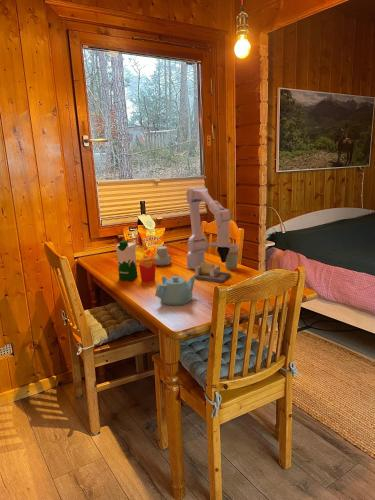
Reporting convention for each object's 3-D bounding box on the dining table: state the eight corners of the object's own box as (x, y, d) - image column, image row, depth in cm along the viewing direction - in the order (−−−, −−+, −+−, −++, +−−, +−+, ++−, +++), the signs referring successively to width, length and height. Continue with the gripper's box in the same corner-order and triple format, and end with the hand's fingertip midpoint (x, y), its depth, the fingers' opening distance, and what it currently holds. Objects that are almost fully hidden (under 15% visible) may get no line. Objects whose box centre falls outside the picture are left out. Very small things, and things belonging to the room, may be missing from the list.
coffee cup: (238, 270, 194) (238, 249, 191) (222, 270, 196) (222, 248, 192) (239, 266, 202) (239, 245, 199) (224, 265, 204) (224, 244, 201)
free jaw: (210, 277, 181) (209, 269, 180) (216, 272, 187) (216, 265, 186) (213, 277, 180) (213, 269, 179) (220, 273, 186) (219, 265, 186)
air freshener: (167, 267, 205) (167, 250, 202) (153, 267, 206) (152, 250, 204) (172, 261, 215) (171, 245, 213) (158, 261, 217) (157, 245, 214)
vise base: (192, 278, 184) (192, 268, 183) (202, 272, 193) (202, 262, 192) (222, 283, 177) (221, 272, 175) (230, 276, 186) (230, 265, 184)
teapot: (163, 293, 166) (161, 270, 164) (196, 294, 164) (195, 271, 161) (155, 306, 152) (153, 282, 149) (190, 308, 149) (189, 283, 147)
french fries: (141, 283, 180) (139, 259, 177) (139, 280, 184) (138, 257, 181) (158, 280, 183) (156, 257, 180) (155, 278, 187) (154, 255, 184)
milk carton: (116, 280, 186) (113, 242, 181) (125, 275, 194) (122, 238, 189) (132, 281, 183) (129, 243, 178) (140, 276, 191) (137, 238, 186)
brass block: (201, 274, 186) (200, 263, 184) (204, 272, 189) (203, 261, 187) (211, 276, 183) (211, 264, 181) (214, 274, 186) (214, 263, 184)
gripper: (206, 235, 175) (206, 262, 179) (234, 237, 168) (234, 265, 172) (212, 232, 181) (212, 258, 185) (239, 234, 174) (239, 261, 178)
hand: (223, 262), depth 179 cm, fingers closed
